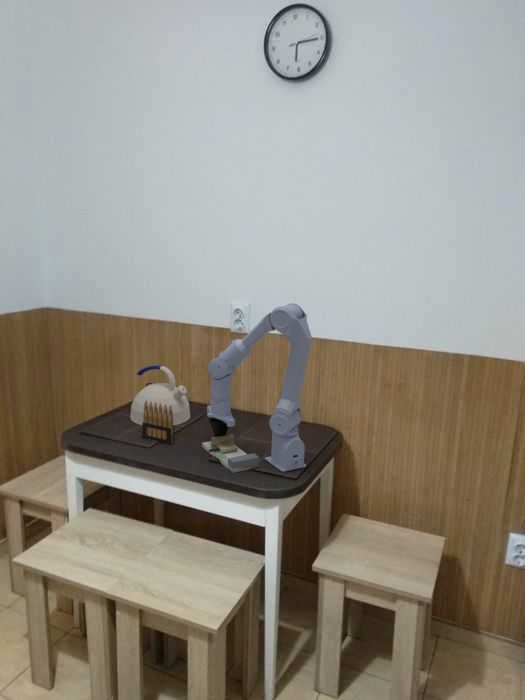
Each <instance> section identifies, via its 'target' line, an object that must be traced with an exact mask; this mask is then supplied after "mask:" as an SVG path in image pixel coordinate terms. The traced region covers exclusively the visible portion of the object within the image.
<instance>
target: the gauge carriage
mask: <svg viewBox="0 0 525 700" xmlns="http://www.w3.org/2000/svg"><path fill="white" fill-rule="evenodd" d="M235 438H236V437H235V434H233V433H230V434H226V435H224V436H218V437H215V436H213V437H211V438H210V441H211V448H212V449H209V452H214V451H220V452H221V453H227V452H232V451H237V450H238V448H239V447H238V445H237V444H236V443H235ZM209 452H208V453H209Z"/></svg>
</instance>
